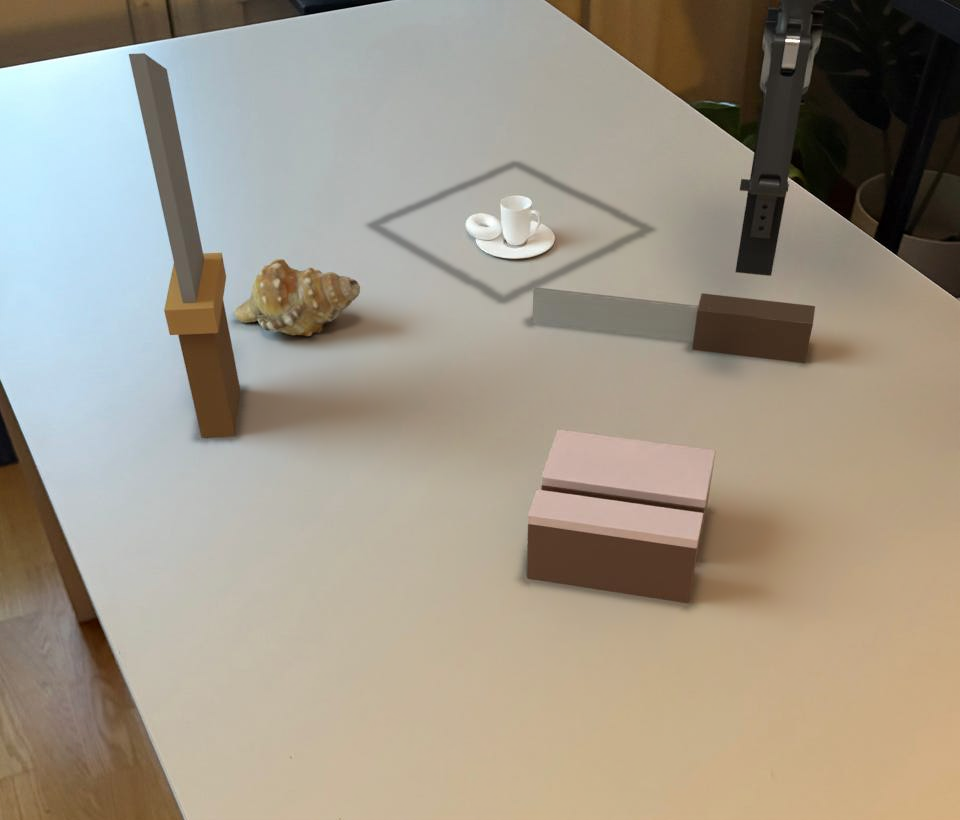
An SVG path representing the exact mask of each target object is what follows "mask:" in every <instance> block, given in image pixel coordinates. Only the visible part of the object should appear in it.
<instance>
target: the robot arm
mask: <svg viewBox="0 0 960 820" xmlns="http://www.w3.org/2000/svg"><path fill="white" fill-rule="evenodd" d="M777 1H778V2H779V4H778V7H768V8H767V11H766V20H765V25H764V31H763V36H762V37H763V38H762V45H761V47H762V51H763V54H764V56H763V61H762V66H761V72H760V73H761V74H760V80H759V88H760V90H761V91H762V92H763V94H762V97H763V98H764V101H763V104H761V106H760V107H761V108H760V112H759V113H760V114H759V120H758V126H757V133H756V139H755V145H754V152H753V159H752V164H751V170H750V171H751V172H750V178H749V179H746V178H741V179H740V185H739V191H740V192H747V195H746V202H745V207H744V213H743V215H744V216H743V220H742V228H741V234H740V239H739V246H738V253H737V259H736V265H735V273H737V274H748V275H759V276H767V277H770V276H772V275H773V274H772V273H773V267H774V263H775V256H776V252H777V246H778V240H779V235H780V228H781V223H782V218H783V213H784V207H785V201H786V196H787V193H788V192H789V187H790V184H789V175H790V169H791V164H792V157H793V151H794V144H795V139H796V133H797V127H798V121H799V116H800V110H801V105H805V102H806V97H807V92H808V90H809V88H810V84H811V78H812V72H813V66H814V59H815V56H816V55H817V54H818V51H819V49H820V45H821V39H822V33H823V27H824V24H823V21H824V16H825V15H824V14H825V11H824V10H814V9H815V6H817V5H818V4H819V3H820V4H821V3H822V2H826V1H827V0H777ZM832 1H834V0H828V2H832Z"/></svg>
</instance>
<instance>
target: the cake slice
mask: <svg viewBox="0 0 960 820" xmlns="http://www.w3.org/2000/svg"><path fill="white" fill-rule="evenodd" d="M702 520H703V513H699V512H692V511H685V510H678V509H671V508H664V507H657V506H650V505H643V504H636V503H629V502H622V501H615V500H608V499H601V498H594V497H586V496H579V495H572V494H565V493H558V492H551V491H544V490H541V489H536V491H535V494H534V496H533V500H532V503H531V505H530V508H529V511H528V515H527V551H526V552H527V555H526V579H528V580H535V581H539V582H540V581H541V582H547V583H553V584H560V585H566V586H573V587H580V588H586V589H592V590H598V591H607V592H611V593H612V592H613V593H618V594H623V595H631V596H637V597H643V598H644V597H645V598H651V599H657V600H664V601H671V602H677V603H683V604H689V602H690V596H691V591H692V587H693V581H694V575H695V569H696V564H697V561H696V558H697V559H698V556H697V551H698V545H699V539H700V533H701V526H702ZM698 552H699V551H698Z"/></svg>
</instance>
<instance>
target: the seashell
mask: <svg viewBox="0 0 960 820" xmlns="http://www.w3.org/2000/svg"><path fill="white" fill-rule="evenodd" d="M360 292H361V285H360V284H359V282H358V281H357V280H356V279H354V278H351V277H350V276H345V275H341V276H340V275H339V274H337V273H336V272H332V271H329V272H321V270H319V269H314V267H308V268H306V269H304V270H298V269H295V268H292V267H290V265H288V263H287V262H286V260H285V259H284V258H276V259H275V260H273V261H272V262H271V263H270V264H268V265H264V266H263V267H262V268H261V270H260V272H259V273H258V274H257V275H256V276H255V278H254V281H253V284H252V286H251V294H250V297H249V298H248V299H247V300H246V301H244V302H243V303H242V304H241V305H239V306H238V307H236V308H235V311H234V315H235V319H236V320H237V321H239V322H241V323H245V324H246V323H252V322H253V323H254V322H258V325H259V326H260V327H261V328H262V329H263V330H265V331H267V332H270V331H271V332H273V333H275V332H280V333H284V334H286V335H290V336H305V337H311V336H312V335H313V334H318V333H321V332H322V331H323V326H324V324H326V323H331V322H332V321H333V320H335V319H337V318H338V317H339V316H340V315H341V313H342V311H344V310H346V309H347V308H348V307H350V305H351V304H352V303H353V301H355V300H356V299H357V298H358V297H359V295H360V294H361V293H360Z"/></svg>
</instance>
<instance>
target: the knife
mask: <svg viewBox="0 0 960 820" xmlns="http://www.w3.org/2000/svg"><path fill="white" fill-rule="evenodd" d="M128 59H129V62H130V68H131V72H132V76H133V81H134V85H135V90H136V95H137V100H138V104H139V109H140V112H141V118H142V122H143V127H144V132H145V137H146V141H147V145H148V150H149V155H150V158H151V164H152V168H153V173H154V179H155V182H156V186H157V191H158V196H159V201H160V204H161V210H162V214H163V218H164V223H165V227H166V232H167V237H168V240H169V247H170V251H171V255H172V260H173V265H172V270H171V275H170V280H169V284H168V289H167V293H166V294H167V295H166V299H165V304H164V308H163V312H164V317H165V321H166V324H167V329H168V333H169V336H178V340H179V341H178V342H179V345H180V349H181V353H182V354H181V355H182V358H183V362H184V368H185V371H186V376H187V380H188V384H189V390H190V393H191V398H192V402H193V407H194V411H195V415H196V420H197V424H198V429H199V433H200V438H201V439H210V438H212V439H213V438H214V439H215V438H232V437H234V438H235V437H236V431H237V422H238V413H239V405H240V397H241V385H240V381H239V374H238V370H237V365H236V360H235V354H234V350H233V349H234V348H233V345H232V339H231V333H230V328H229V324H228V323H229V322H228V318H227V313H226V307H225V302H224V294H225V290H226V289H225V288H226V283H227V282H226V281H227V273H226V268H225V262H224V257H223V252H207V253H204V250H203V247H202V241H201V235H200V231H199V226H198V221H197V216H196V210H195V205H194V201H193V196H192V190H191V185H190V180H189V174H188V169H187V166H186V159H185V155H184V154H185V153H184V150H183V144H182V139H181V135H180V129H179V124H178V120H177V115H176V109H175V105H174V99H173V94H172V90H171V84H170V79H169V74H168V69H167V68H166V67H164V66H163V65H162V64H160V63H159V62H157V61H156V60H154V59H153V58H151V56H149V55H148V54H146V53H145V52H144V53H143V52H141V53H128Z"/></svg>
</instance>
